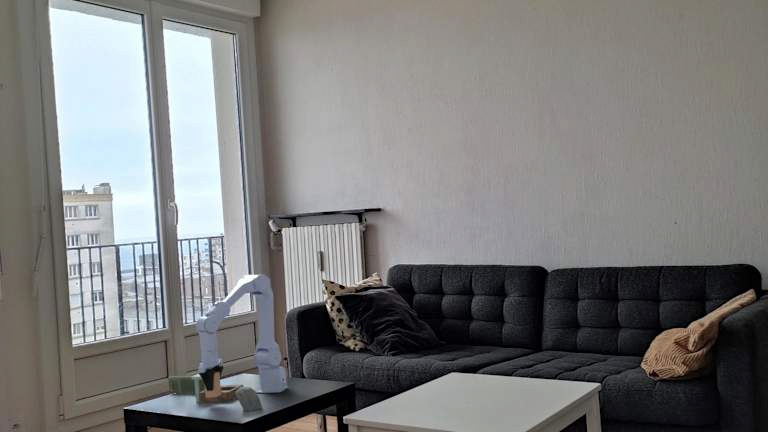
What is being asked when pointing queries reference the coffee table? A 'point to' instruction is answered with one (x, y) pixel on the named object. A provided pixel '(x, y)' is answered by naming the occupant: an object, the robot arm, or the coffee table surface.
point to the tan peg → (214, 387)
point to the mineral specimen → (248, 398)
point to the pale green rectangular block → (196, 386)
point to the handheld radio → (184, 384)
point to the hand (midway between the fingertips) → (212, 388)
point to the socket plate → (225, 396)
